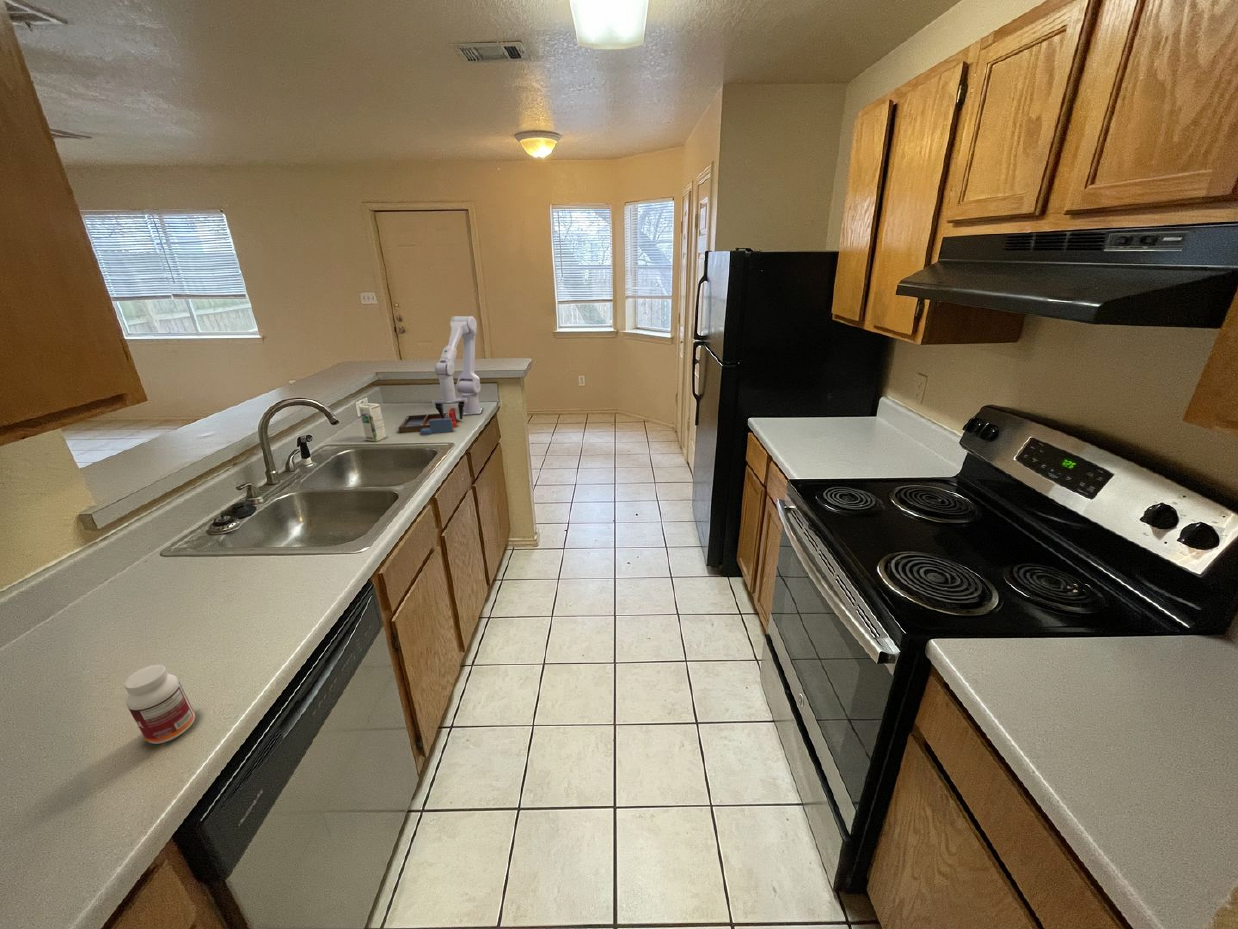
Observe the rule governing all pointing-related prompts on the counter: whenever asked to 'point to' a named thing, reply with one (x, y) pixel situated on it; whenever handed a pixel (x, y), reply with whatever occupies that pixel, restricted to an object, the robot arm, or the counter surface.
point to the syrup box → (372, 421)
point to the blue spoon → (438, 426)
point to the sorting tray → (418, 422)
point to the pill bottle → (158, 704)
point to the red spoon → (453, 416)
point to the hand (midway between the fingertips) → (452, 419)
